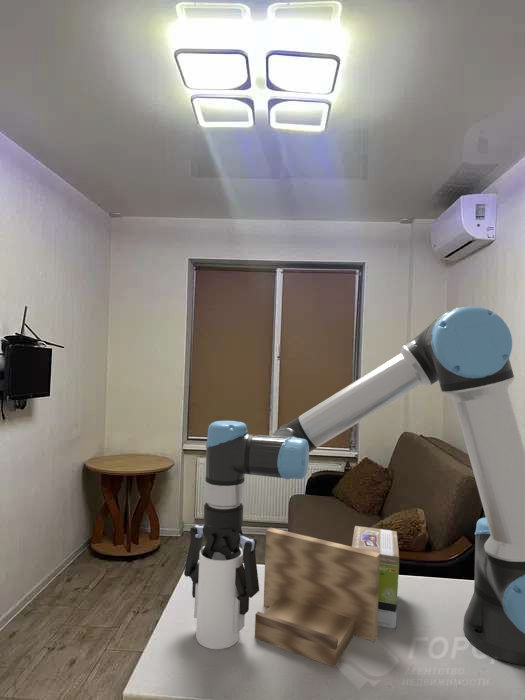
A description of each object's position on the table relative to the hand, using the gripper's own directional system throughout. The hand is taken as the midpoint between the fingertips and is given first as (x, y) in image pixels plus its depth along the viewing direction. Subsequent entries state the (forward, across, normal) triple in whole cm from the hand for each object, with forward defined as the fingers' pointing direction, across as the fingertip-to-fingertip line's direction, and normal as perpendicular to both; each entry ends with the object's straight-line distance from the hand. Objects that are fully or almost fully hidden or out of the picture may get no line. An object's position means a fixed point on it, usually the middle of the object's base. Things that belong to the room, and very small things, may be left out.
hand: (218, 622), depth 88 cm
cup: (+3, 0, 0) cm, 3 cm away
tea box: (+3, -23, -26) cm, 35 cm away
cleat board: (+2, -14, -9) cm, 17 cm away
